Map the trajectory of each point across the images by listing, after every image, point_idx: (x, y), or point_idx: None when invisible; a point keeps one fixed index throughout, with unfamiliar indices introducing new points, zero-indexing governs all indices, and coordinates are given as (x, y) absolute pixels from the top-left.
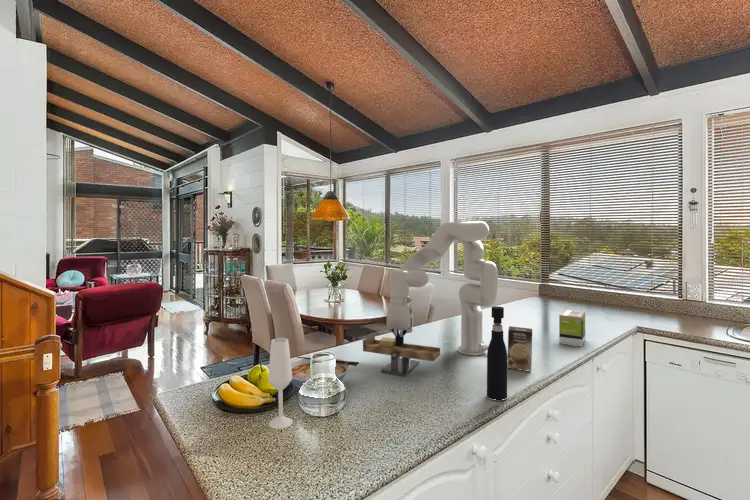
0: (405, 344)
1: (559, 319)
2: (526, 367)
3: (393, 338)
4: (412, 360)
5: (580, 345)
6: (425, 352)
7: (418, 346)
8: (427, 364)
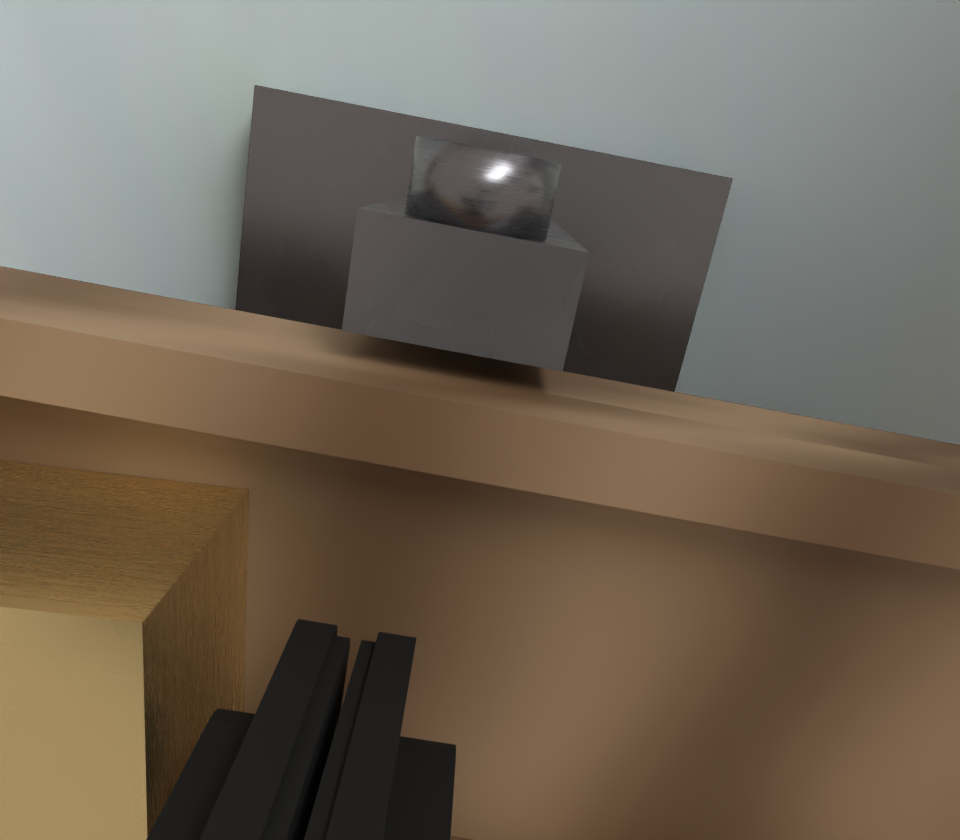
0: (474, 479)
1: None
2: None
3: (7, 650)
4: (592, 182)
5: None
6: None
7: (892, 549)
8: (869, 163)
